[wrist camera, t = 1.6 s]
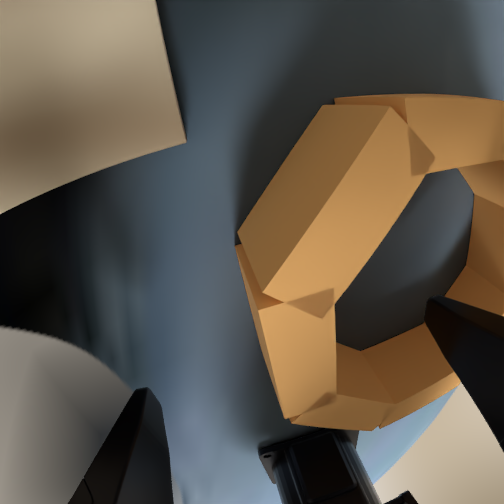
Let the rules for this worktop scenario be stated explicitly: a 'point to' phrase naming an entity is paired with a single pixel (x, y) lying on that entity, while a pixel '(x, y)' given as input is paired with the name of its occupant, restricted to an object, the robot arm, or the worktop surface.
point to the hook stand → (80, 91)
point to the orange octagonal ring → (365, 250)
